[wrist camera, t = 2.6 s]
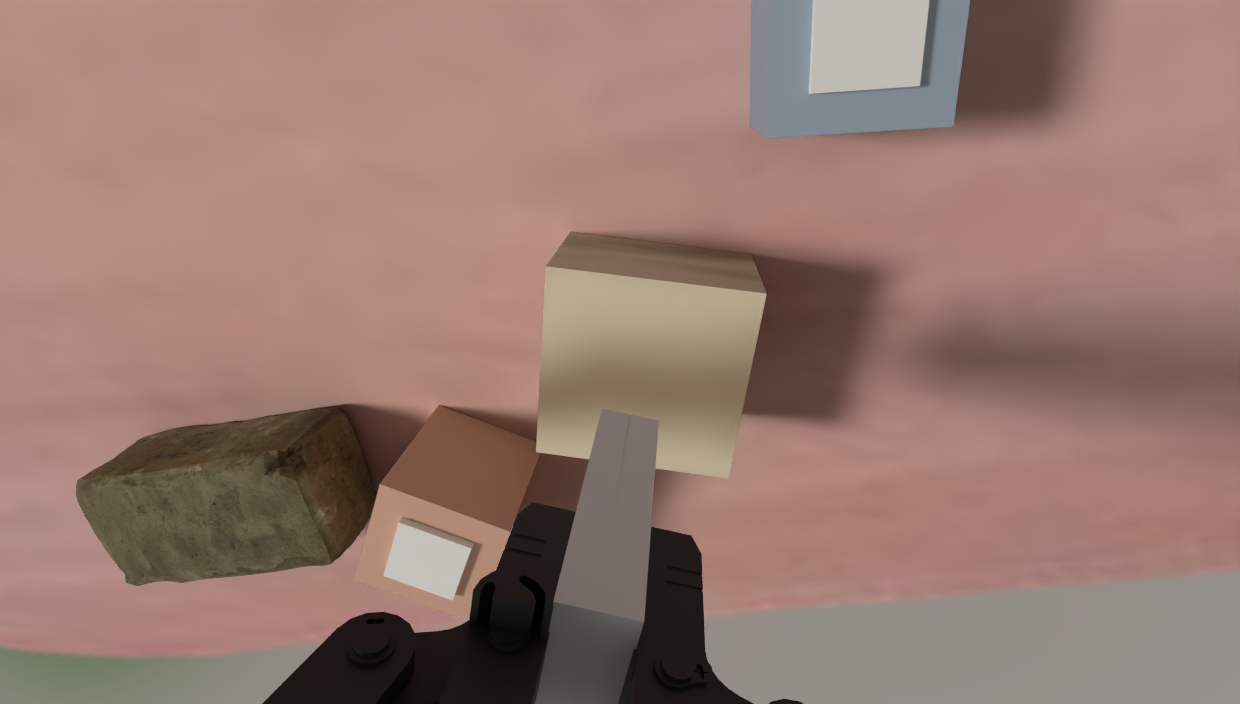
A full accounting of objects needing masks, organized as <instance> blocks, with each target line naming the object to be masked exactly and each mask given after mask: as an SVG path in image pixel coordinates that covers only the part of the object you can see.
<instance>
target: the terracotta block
mask: <svg viewBox="0 0 1240 704" xmlns="http://www.w3.org/2000/svg"><path fill="white" fill-rule="evenodd" d="M539 456H540V453H539V452H536V442H535V441H533V440H530V439H527V438H525V437H522V436H519V435H517V434H514V433H511V432H509V431H506V430H503V429H501V428H498V427H496V426H493V425H490V424H488V423H485V422H482V421H480V420H477V419H474V418H472V417H469V416H466V415H464V414H461V413H458V412H456V411H453V410H450V409H448V408H445V407H442V406H440V405H439V406H438V407H437V408H436V410H435V411H434V412H433V414H432V415H431V416H430V418H429V419H428V420H427V422H426V423H425V424H424V426H423V427H422V428H421V430H420V431H419V432H418V434H417V435H416V436H415V438H414V439H413V440H412V442H411V443H410V444H409V446H408V447H407V448H406V450H405V451H404V452H403V454H402V455H401V456H400V458H399V459H398V460H397V462H396V463H395V464H394V466H393V467H392V468H391V470H390V471H389V472H388V474H387V475H386V476H385V478H384V479H383V480H382V482H381V483H380V485H379V489H378V492H377V496H376V500H375V504H374V508H373V511H372V515H371V519H370V523H369V526H368V530H367V534H366V538H365V541H364V545H363V549H362V553H361V557H360V560H359V564H358V568H357V572H356V575H355V579H354V580H355V581H358V582H360V583H363V584H366V585H369V586H372V587H374V588H377V589H380V590H383V591H386V592H388V593H391V594H394V595H397V596H400V597H403V598H405V599H408V600H411V601H414V602H417V603H419V604H422V605H425V606H428V607H431V608H433V609H436V610H439V611H442V612H445V613H448V614H450V615H453V616H456V617H459V618H462V619H464V620H467V621H469V618H470V610H471V603H472V595H473V589H474V588H475V586H476V585H477V584H478V582H479V581H480V579H482V578H483V577H485V576H486V575H488V574H490V573H491V572H493V571H495V569H496V567H497V564H498V562H499V559H500V557H501V554H502V552H503V549H504V547H505V544H506V542H507V539H508V536H509V534H510V531H511V529H512V526H513V524H514V521H515V518H516V516H517V513H518V510H519V508H520V505H521V503H522V500H523V497H524V495H525V492H526V490H527V487H528V484H529V482H530V479H531V477H532V474H533V471H534V469H535V466H536V464H537V461H538V458H539Z"/></svg>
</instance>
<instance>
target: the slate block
mask: <svg viewBox="0 0 1240 704" xmlns="http://www.w3.org/2000/svg"><path fill="white" fill-rule="evenodd" d="M969 7H970V0H751V61H750V127H752V128H753V129H754V130H756V131H757V132H759V133H760V134H761V135H763V136H764V137H765V138H781V137H797V136H813V135H829V134H845V133H861V132H877V131H892V130H908V129H924V128H940V127H953V126H954V119H955V111H956V104H957V96H958V89H959V81H960V74H961V66H962V59H963V51H964V44H965V36H966V29H967V22H968V14H969Z"/></svg>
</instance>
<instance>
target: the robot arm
mask: <svg viewBox="0 0 1240 704" xmlns="http://www.w3.org/2000/svg"><path fill="white" fill-rule="evenodd" d="M658 425H659V421H658V420H653V419H649V418H644V417H639V416H635V415H630V414H626V413H621V412H616V411H612V410H607V409H602V410H601V414H600V418H599V422H598V426H597V430H596V434H595V438H594V442H593V446H592V450H591V454H590V458H589V462H588V466H587V470H586V474H585V478H584V482H583V486H582V490H581V493H580V497H579V501H578V505H577V509H576V512H574V511H569V510H565V509H560V508H555V507H551V506H546V505H542V504H537V503H533V502H532V503H531V504H530V505H529V506H528V507H527V508H525V509H524V510H523V511H522V512H521V513H520V514H518V515H517V518H516V520H515V523H514V525H513V528H512V531H511V534H510V536H509V538H508V541H507V544H506V546H505V550H504V551H503V554H502V557H501V559H500V562H499V564H498V567H497V570H496V571H493V572H491V573H490V574H488V575H486V576H485V577H483V578H482V579H480V581H479V582H478V584H477V585H476V586H475V588H474V589H473V595H472V603H471V610H470V618H469V621H467V622H465V623H464V624H462V625H460V626H457V627H455V628H452V629H448V630H442V631H435V632H420V633H414V631H413V629H412V627H411V625H410V624H409V623H408V622H406V621H405V620H404V619H402V618H401V617H400V616H397V615H394V614H390V613H386V612H375V613H366V614H363V615H360V616H357V617H354V618H352V619H350V620H348V621H347V622H346V623H344V624H343V625H342V626H340V627H339V628H337V629H336V630H335V631H334V632H333V633H332V634H331V635H330V636H329V637H328V638H327V639H326V640H325V641H324V642H323V643H322V644H321V645H320V646H319V647H318V648H317V649H316V650H315V651H314V652H313V653H312V654H311V655H310V656H309V657H308V658H307V659H306V660H305V661H304V663H302V664H301V665H300V666H299V668H297V669H296V670H295V671H294V672H293V673H292V675H290V677H288V678H287V680H286V681H284V682H283V683H282V685H281V686H280V687H278V688H277V690H275V692H273V694H271V696H270V697H269V698H268V699H267V700H266V701H265V702H264V703H263V704H753V703H751V702H749V701H748V700H746V699H744V698H742V697H740V696H738V695H737V694H735V693H734V692H732V691H731V690H729V689H728V688H727V687H726V686H725V685H724V684H723V683H722V682H721V681H720V680H718V678H717V677H716V675H715V674H714V673H713V671H712V667H711V666H710V664H709V663H708V661H707V658H706V652H705V637H704V611H703V592H702V589H703V584H702V558H701V553H700V551H699V549H698V547H697V545H696V543H695V541H694V540H693V538H692V536H691V535H686V534H682V533H677V532H672V531H668V530H663V529H659V528H654V527H651V521H652V508H653V494H654V480H655V466H656V453H657V439H658ZM769 704H803V703H801V702H799V701H793V700H788V699H781V700H777V701H772V702H771V703H769Z"/></svg>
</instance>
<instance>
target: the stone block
mask: <svg viewBox="0 0 1240 704" xmlns="http://www.w3.org/2000/svg"><path fill="white" fill-rule="evenodd" d="M76 496H77V499H78V503H79V505H80V507H81V509H82V511H83V513H84V515H85V517H86V519H87V520H88V522H89V523H90V525H91V527H92V529H93V531H94V533H95V534H96V536H97V538H98V539H99V540H100V542H101V543H102V545H103V546H104V548H105V550H106V551H107V552H108V554H109V555H110V556H111V558H112V559H113V560H114V562H115V563H116V564H117V565H118V567H119V568H120V569H121V570H122V571H123V572H124V573H125V578H126V583H129V584H132V585H135V586H139V585H143V584H147V583H152V582H158V581H172V582H178V583H185V582H190V581H196V580H203V579H210V578H223V577H233V576H243V575H252V574H260V573H268V572H276V571H282V570H288V569H293V568H298V567H306V566H323V565H328V564H331V563H332V562H334V561H335V560H336V559H337V558H339V557H340V556H341V555H342V554H343V553H344V551H345V550H346V549H347V548H349V547H350V546H351V545H352V544H353V542H354V541H355V539H356V538H357V536H358V535H359V534H360V532H361V531H362V530H363V528H364V527H365V525H366V523H367V521H368V519H369V517H370V515H371V512H372V510H373V508H374V504H375V500H376V494H375V491H374V487H373V484H372V481H371V478H370V474H369V472H368V469H367V466H366V462H365V459H364V456H363V452H362V449H361V446H360V444H359V441H358V439H357V437H356V434H355V431H354V429H353V428H352V427H351V425H350V422H349V419H348V418H347V417H346V416H345V415H344V414H343V412H341V411H340V410H339V409H338V407H337V406H333V407H330V408H315V409H310V410H306V411H300V412H293V413H288V414H283V415H278V416H266V417H263V418H257V419H251V420H247V421H244V422H240V423H239V422H228V423H223V424H218V425H211V426H190V427H182V428H176V429H171V430H167V431H163V432H160V433H156V434H153V435H150V436H146V437H143V438H141V439H139V440H138V441H136V442H135V443H134V444H133V445H131V446H130V447H128V448H127V449H126V450H124V451H123V452H122V453H120V454H119V455H117V456H116V457H115V458H114V459H112V460H110V461H109V462H107V463H105V464H103V465H102V466H100V467H98V468H96V469H94V470H93V471H91V472H89V473H88V474H87V475H85V476H84V477H82V478H80V479H79V480H77V485H76Z"/></svg>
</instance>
